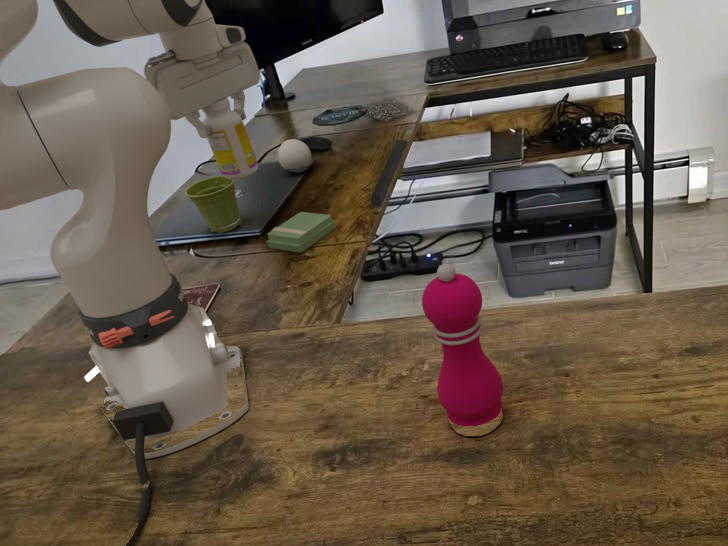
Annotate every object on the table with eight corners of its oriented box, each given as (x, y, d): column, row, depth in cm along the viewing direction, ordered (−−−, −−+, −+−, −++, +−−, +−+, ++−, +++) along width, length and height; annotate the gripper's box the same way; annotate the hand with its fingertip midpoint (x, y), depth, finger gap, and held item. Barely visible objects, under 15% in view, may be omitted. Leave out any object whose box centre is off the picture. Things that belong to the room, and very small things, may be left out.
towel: (301, 253, 118) (296, 239, 117) (268, 248, 122) (263, 234, 121) (336, 227, 125) (332, 214, 123) (305, 223, 129) (300, 210, 127)
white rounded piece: (321, 169, 152) (312, 137, 147) (292, 181, 149) (281, 148, 144) (301, 161, 159) (291, 130, 154) (273, 172, 155) (262, 140, 151)
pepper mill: (437, 411, 78) (399, 260, 67) (494, 390, 80) (466, 239, 68) (457, 450, 73) (419, 292, 61) (518, 426, 74) (493, 269, 62)
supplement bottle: (253, 162, 125) (228, 91, 117) (264, 171, 120) (238, 98, 113) (218, 174, 123) (190, 102, 115) (228, 183, 118) (199, 109, 110)
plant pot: (252, 228, 131) (236, 185, 125) (203, 242, 129) (185, 200, 123) (247, 211, 138) (232, 171, 133) (201, 225, 136) (183, 184, 131)
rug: (388, 99, 190) (388, 95, 190) (416, 112, 176) (415, 109, 175) (356, 108, 187) (355, 105, 187) (382, 123, 173) (381, 119, 172)
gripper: (152, 61, 100) (190, 151, 108) (250, 25, 113) (277, 108, 122) (126, 61, 103) (165, 149, 111) (224, 27, 116) (252, 108, 125)
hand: (224, 128), depth 117 cm, fingers closed on supplement bottle, 6 cm apart
